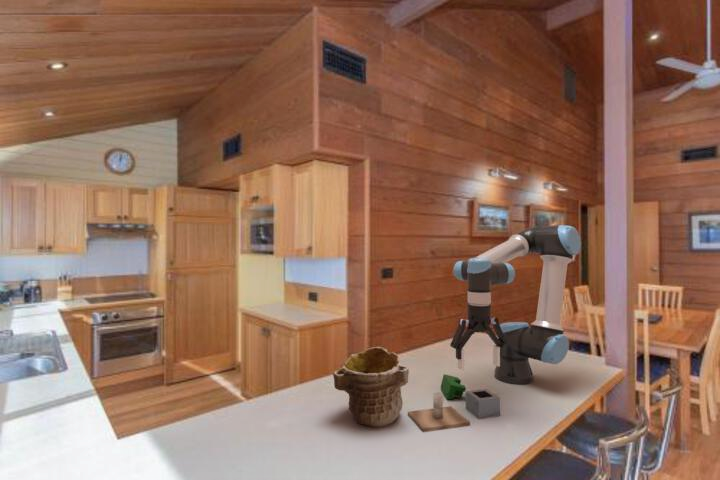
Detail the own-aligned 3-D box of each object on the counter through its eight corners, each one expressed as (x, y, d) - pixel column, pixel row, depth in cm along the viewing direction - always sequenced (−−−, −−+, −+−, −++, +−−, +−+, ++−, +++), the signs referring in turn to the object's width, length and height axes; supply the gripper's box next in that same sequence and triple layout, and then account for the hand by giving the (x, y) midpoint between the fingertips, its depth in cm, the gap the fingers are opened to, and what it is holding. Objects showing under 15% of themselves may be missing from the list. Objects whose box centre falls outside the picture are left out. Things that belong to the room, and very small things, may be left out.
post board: (451, 409, 134) (451, 385, 134) (470, 425, 123) (470, 399, 123) (407, 414, 130) (407, 390, 130) (423, 431, 118) (423, 405, 118)
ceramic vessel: (365, 422, 106) (339, 338, 120) (337, 446, 123) (317, 369, 137) (431, 404, 117) (401, 328, 131) (397, 428, 134) (373, 359, 148)
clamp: (459, 410, 143) (467, 392, 140) (443, 406, 143) (451, 388, 139) (454, 386, 154) (462, 369, 151) (440, 383, 154) (447, 365, 150)
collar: (486, 405, 137) (486, 388, 137) (500, 415, 129) (500, 397, 129) (465, 408, 135) (465, 391, 135) (478, 418, 127) (478, 400, 127)
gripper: (504, 300, 139) (503, 360, 139) (440, 303, 132) (440, 366, 132) (517, 304, 132) (517, 367, 132) (451, 307, 125) (451, 374, 125)
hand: (478, 367), depth 132 cm, fingers open, 13 cm apart
